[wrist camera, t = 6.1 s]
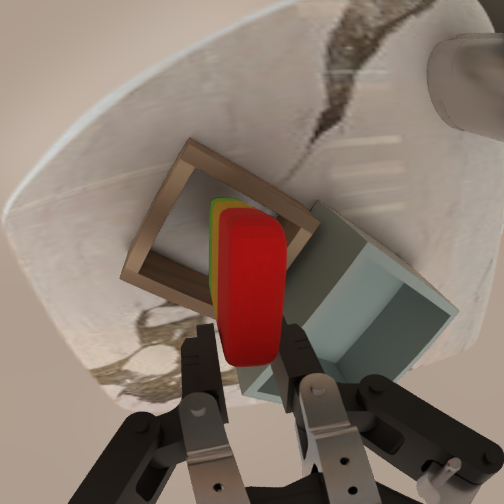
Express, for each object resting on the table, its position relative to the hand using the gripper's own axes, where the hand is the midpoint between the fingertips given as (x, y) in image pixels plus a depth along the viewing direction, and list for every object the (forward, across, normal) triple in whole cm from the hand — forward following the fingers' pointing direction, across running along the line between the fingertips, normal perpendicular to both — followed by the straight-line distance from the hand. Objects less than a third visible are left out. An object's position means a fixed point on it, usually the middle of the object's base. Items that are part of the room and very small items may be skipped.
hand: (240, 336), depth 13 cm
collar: (+12, 0, 0) cm, 12 cm away
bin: (+12, -10, +8) cm, 18 cm away
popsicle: (+12, 0, 0) cm, 12 cm away
